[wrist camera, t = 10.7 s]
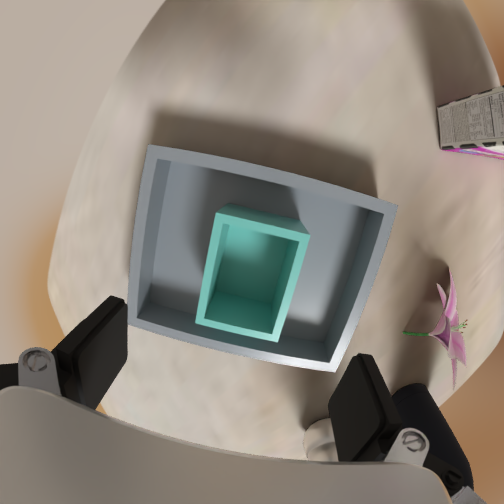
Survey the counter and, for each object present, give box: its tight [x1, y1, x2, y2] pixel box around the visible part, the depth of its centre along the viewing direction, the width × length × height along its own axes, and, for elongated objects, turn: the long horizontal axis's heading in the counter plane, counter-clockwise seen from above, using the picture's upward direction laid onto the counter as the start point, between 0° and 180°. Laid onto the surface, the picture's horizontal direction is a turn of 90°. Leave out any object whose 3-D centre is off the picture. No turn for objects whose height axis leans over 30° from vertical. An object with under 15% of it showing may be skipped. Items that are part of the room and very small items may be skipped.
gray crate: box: [127, 144, 398, 372], centre depth 25 cm, size 16×20×4 cm
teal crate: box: [195, 203, 310, 342], centre depth 23 cm, size 8×6×6 cm
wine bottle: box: [392, 383, 474, 491], centre depth 17 cm, size 6×6×30 cm
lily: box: [403, 268, 467, 390], centre depth 24 cm, size 12×12×10 cm
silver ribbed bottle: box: [303, 418, 339, 462], centre depth 23 cm, size 6×7×20 cm
